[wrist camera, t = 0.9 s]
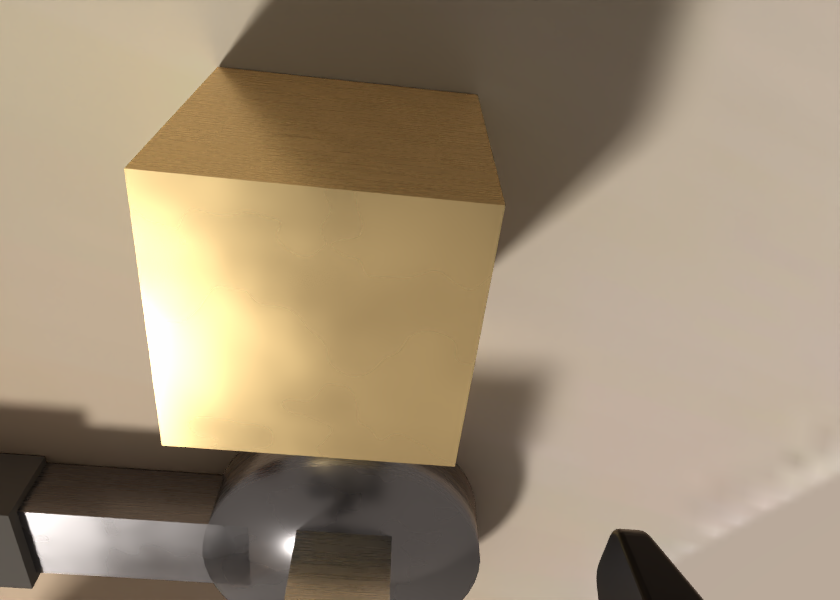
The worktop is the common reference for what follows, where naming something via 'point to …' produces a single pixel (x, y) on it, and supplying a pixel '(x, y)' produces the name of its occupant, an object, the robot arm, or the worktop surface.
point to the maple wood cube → (315, 265)
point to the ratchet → (246, 527)
